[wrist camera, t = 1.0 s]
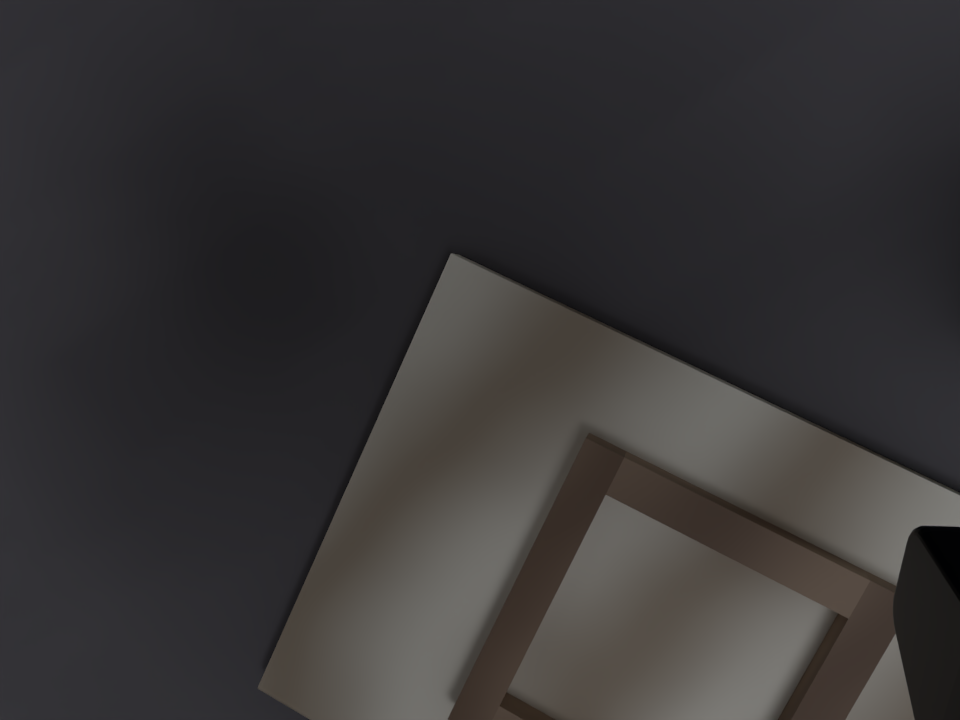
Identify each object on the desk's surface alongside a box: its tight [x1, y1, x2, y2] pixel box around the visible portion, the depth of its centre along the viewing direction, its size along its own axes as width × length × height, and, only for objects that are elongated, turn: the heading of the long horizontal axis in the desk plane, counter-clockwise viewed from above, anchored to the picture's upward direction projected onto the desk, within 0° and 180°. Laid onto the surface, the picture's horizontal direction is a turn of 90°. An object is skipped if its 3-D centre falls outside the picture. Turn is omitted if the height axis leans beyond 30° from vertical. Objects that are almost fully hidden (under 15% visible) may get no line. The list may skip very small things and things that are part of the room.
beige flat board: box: [258, 253, 960, 720], centre depth 21 cm, size 18×13×2 cm
